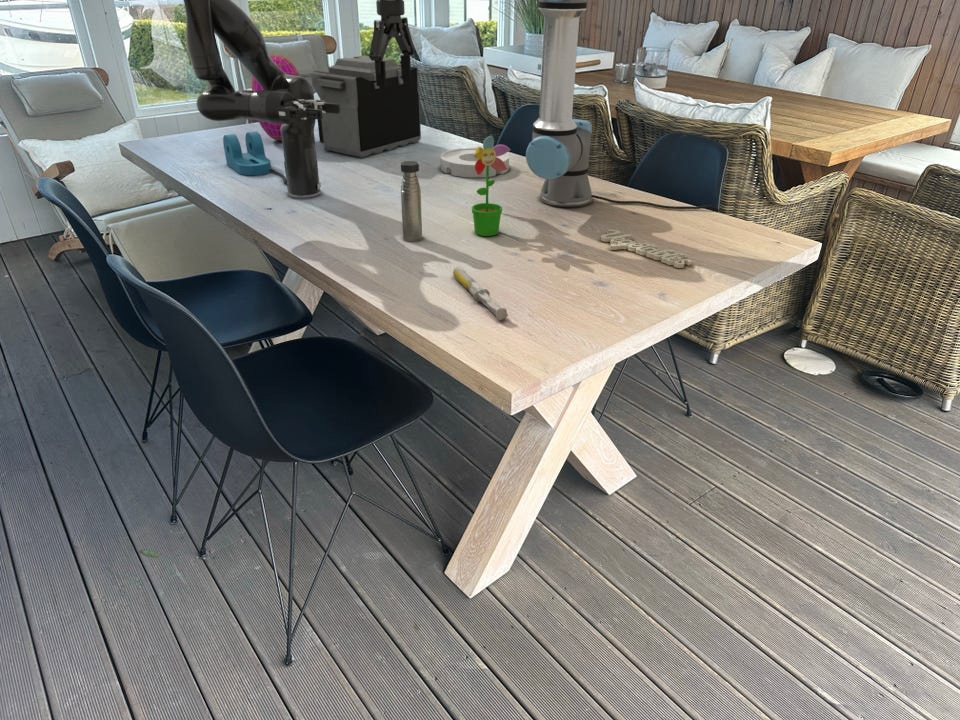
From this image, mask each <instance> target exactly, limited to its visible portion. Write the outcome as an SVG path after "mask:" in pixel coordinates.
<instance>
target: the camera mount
mask: <svg viewBox="0 0 960 720" xmlns="http://www.w3.org/2000/svg"><path fill="white" fill-rule="evenodd" d="M222 140H223V141H222V143H223V149H224V150H223V151H224V156H225V161H226V165H227V166H228V167H230V168H231V169H232V170H234V171H236V172H237V173H238V174H239V175H244V176H260V175H265V174H268V173H271V172H270V169H272V164H271V159H270V158H268V157H267V156H266V153H265V145H264V141H263V139H262V136H261V134H260V132H258V131H247V132H246V133H245V146H246V152H243V151H242V150H243V149H242V146H241V142H240V140H239V138H238V135H236V134H235V133H231V134H224V135H223V138H222Z"/></svg>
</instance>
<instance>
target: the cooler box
mask: <svg viewBox="0 0 960 720" xmlns="http://www.w3.org/2000/svg"><path fill="white" fill-rule="evenodd" d="M383 61H385V72H386V87H381V86H377V85H376V72H375V61H372V60H371V59H370V58H369V55H368V56H367V55H356V56H353V57H350V58H349V57H343V58H342V57H341V58H337V59H336V60H335V63H334V64H333V65H330V66H329V67H328V72H327V71H320V70H314V71H313V70H312V71H310V79H311V86H312V89H313V90H314V91H315V93H316V94H317V96H318V98H319V100H326V101H328V103H333V104H339V105H340V113H338V114H336V113H322V114H323V118H322V119H321V120H318V119H316V120H317V128H318V138H319V143H320V144H323V146H324V149H325V150H327V151H330V152H335V153H340V154H344V155H348V156H353V157H357V158H362V159H363V158H366V157H367V158H368V157H369V155H371V154H375V155H377V154H381V153H382V152H383V151H391V150H395V149H396V148H397V147H405V146H407V145H408V144H416V143H418V142H419V141H421V137H422V128H421V97H420V92H419V91H420V89H419V68H418V67H417V66H411V80H402V74H401V64H396V62H395V60H394V59H393V58H385V57H384V58H383ZM320 108H322V105H320Z"/></svg>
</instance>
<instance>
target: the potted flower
mask: <svg viewBox="0 0 960 720" xmlns="http://www.w3.org/2000/svg"><path fill="white" fill-rule="evenodd" d="M494 144H495V139H494V136H493V135H489V136H487V137H486V138H484V140H483V143H482V146H477V147H476V148H477V149H476V151H475V154H474V157H475V158H477V159H479V160H477V162H476V163H475V170H476V172H477V174H478V175H479V174H481V173H482V171H483V170H484V168H485V166H486V177H485V187H480V188H478V189H477V190H476V193H477V194H478V195H480V196H485V202H481V203H475V204H474V205H472V206H471V213H472V217H473V218H472V220H473V227H474V233H475V234H476V235H477V236H481V237H491V236H495V235H497V234H499V230H500V224H501V223H500V222H501V215H502V214H503V207H502V206H501V205H500V204H497V203H493V202H489V191H490V190H489V188H490V187H492V186H493V185H494V184H495V183H496V180H495V179H490V177H489V165H491V167H492V168H494V169H495V170H498V171H503V170H507V167H506V165H505V164H504V162H503V161H502V160H501V159H499V158H498V156H501V155H503V154H505V153H506V154H508V152H510V151H511V148H510V147H508V146H507V145H505V144H502V143H501V144H496V145H494ZM483 148H484V149H483Z"/></svg>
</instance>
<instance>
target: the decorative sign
mask: <svg viewBox="0 0 960 720" xmlns="http://www.w3.org/2000/svg"><path fill="white" fill-rule="evenodd" d="M600 241H602V242H605V243H609V244H610V245H609V250H610V251H617V250H618V251H619V250H627V251H628V252H634V253H635V254H637V255H640V256H645V257H647V258H649V259H653V260H654V261H660V262H661V263H663V264H666V265H668V266H673V267H674V268H677V269H684V267H685V265H686V266H687V267H688V266H691V259H688V258H685V253H683V252H676V253H675V250H674V249H663V250H660V248H659V246H657V245H656V244H651V243H649V242H643V243H641V242H637V241H633V235H632V234H621V231H620V230H617V229H607V232H606V233H604V234H601V236H600Z"/></svg>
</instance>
